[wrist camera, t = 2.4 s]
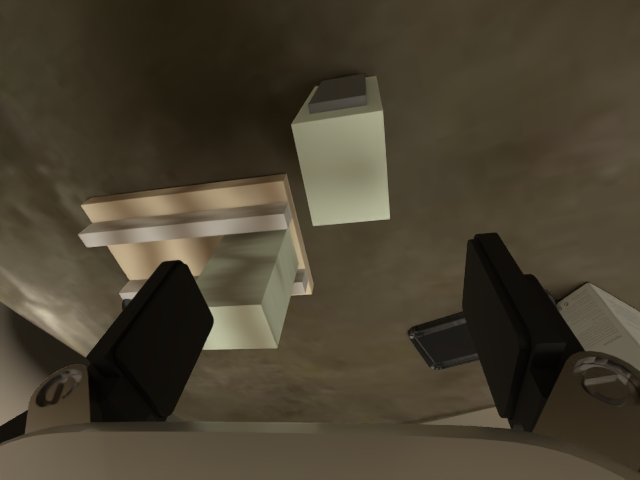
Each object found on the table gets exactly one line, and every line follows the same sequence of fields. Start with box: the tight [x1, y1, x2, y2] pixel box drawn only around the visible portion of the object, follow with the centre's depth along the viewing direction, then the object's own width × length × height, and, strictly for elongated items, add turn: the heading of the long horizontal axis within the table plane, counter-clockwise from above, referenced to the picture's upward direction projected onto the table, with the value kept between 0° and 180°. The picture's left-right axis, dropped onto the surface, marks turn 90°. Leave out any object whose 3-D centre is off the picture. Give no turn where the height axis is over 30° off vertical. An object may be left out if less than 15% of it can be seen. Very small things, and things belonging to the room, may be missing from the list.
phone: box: [409, 289, 557, 370], centre depth 37 cm, size 8×1×15 cm
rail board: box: [78, 174, 314, 350], centre depth 30 cm, size 20×13×12 cm, turn 100°
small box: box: [556, 283, 640, 371], centre depth 29 cm, size 8×6×13 cm
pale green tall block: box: [291, 73, 390, 226], centre depth 22 cm, size 4×6×10 cm
